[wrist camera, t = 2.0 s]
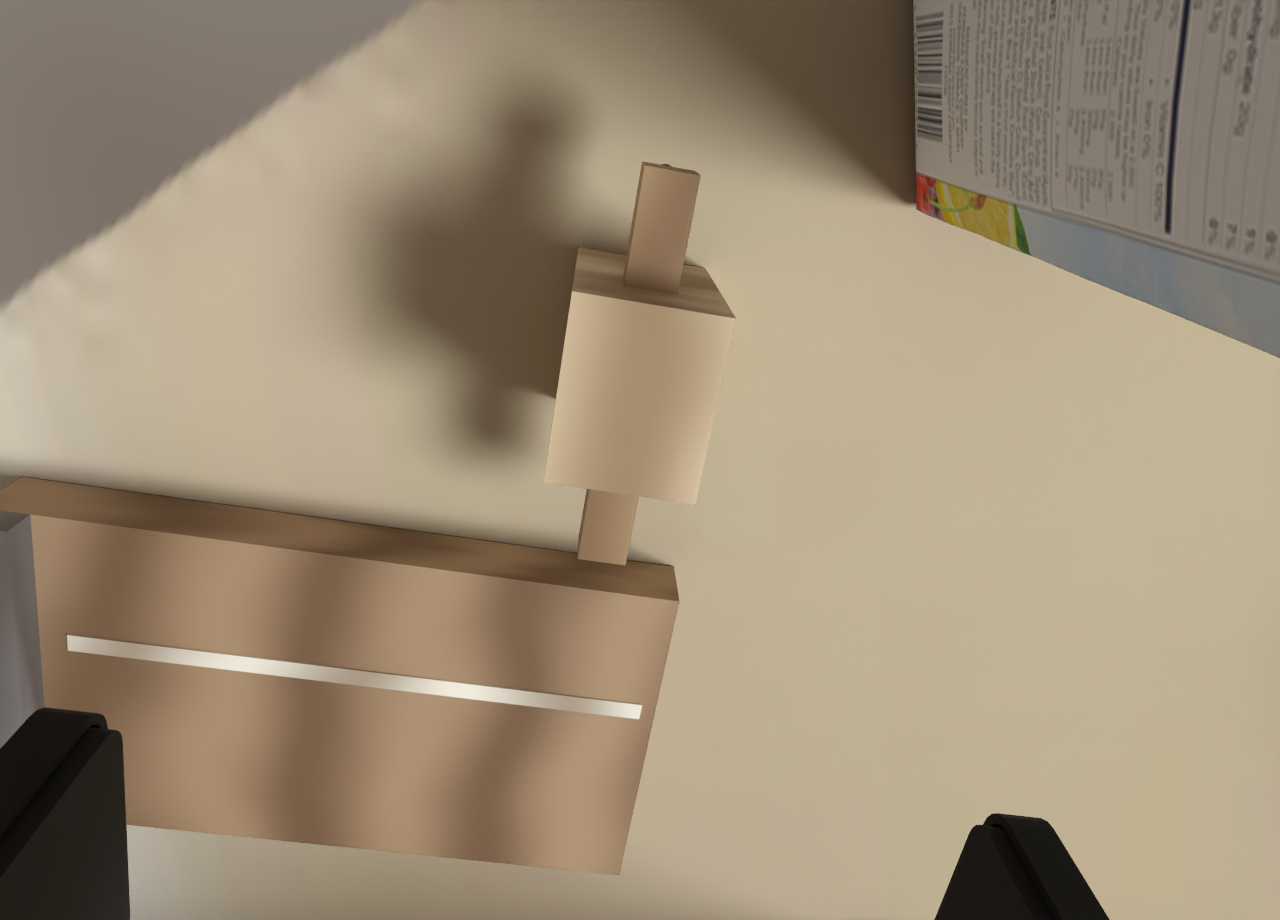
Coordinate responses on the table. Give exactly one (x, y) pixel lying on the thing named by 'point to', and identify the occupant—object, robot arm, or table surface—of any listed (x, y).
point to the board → (338, 673)
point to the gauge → (639, 369)
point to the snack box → (1113, 144)
